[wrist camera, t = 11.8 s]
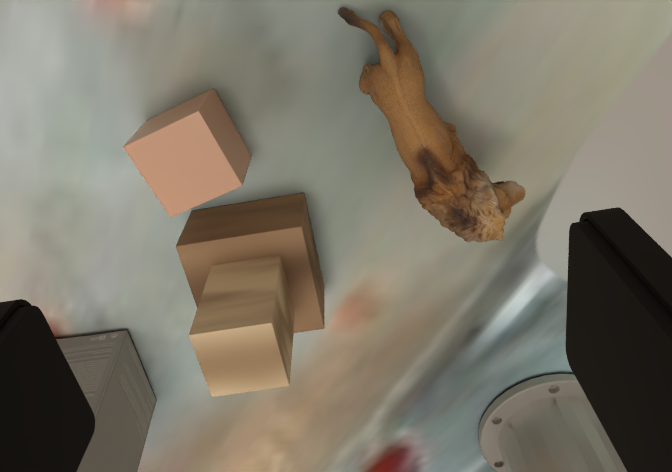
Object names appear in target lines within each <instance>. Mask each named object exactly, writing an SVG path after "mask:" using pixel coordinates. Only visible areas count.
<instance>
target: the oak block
mask: <svg viewBox="0 0 672 472" xmlns="http://www.w3.org/2000/svg"><path fill="white" fill-rule="evenodd" d="M294 318H295V310H294V306H293V302H292V298H291V294H290V290H289V286H288V282H287V278H286V275H285V271H284V267H283V263H282V259H281V255H276V256H270V257H264V258H257V259H251V260H245V261H238V262H232V263H226V264H219V265H213V266H211V269H210V272H209V275H208V278H207V281H206V284H205V287H204V290H203V293H202V296H201V299H200V302H199V306H198V309H197V312H196V315H195V318H194V321H193V324H192V327H191V330H190V333H189V337H190V340H191V342H192V345H193V348H194V350H195V353H196V356H197V358H198V361H199V364H200V366H201V369H202V372H203V374H204V377H205V380H206V382H207V385H208V388H209V390H210V393H211V396H212V397H214V396H221V395H228V394H235V393H242V392H249V391H256V390H264V389H271V388H278V387H285V386H289V384H290V371H291V358H292V344H293V331H294Z"/></svg>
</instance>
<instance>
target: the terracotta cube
mask: <svg viewBox="0 0 672 472" xmlns="http://www.w3.org/2000/svg"><path fill="white" fill-rule="evenodd" d="M123 148H124V149H125V151H126V152H127V154H128V155H129V157H130V158H131V160H132V161H133V163H134V164H135V166H136V167H137V169H138V170H139V172H140V173H141V174H142V176H143V177H144V179H145V180H146V182H147V183H148V185H149V186H150V188H151V189H152V191H153V192H154V194H155V195H156V197H157V198H158V200H159V201H160V203H161V204H162V206H163V207H164V209H165V210H166V212H167V213H168V215H169V216H170V218H171V217H173V216H175V215H177V214H180V213H182V212H184V211H186V210H189V209H191V208H193V207H195V206H198V205H200V204H202V203H204V202H207V201H209V200H211V199H214V198H216V197H218V196H220V195H223V194H225V193H227V192H229V191H232V190H234V189H236V188H238V187H241V186H242V185H243V182H244V179H245V176H246V172H247V169H248V166H249V163H250V160H251V154H250V152H249V150H248V149H247V147H246V145H245V143H244V142H243V140H242V138H241V136H240V134H239V133H238V131H237V129H236V127H235V126H234V124H233V122H232V120H231V118H230V117H229V115H228V113H227V111H226V110H225V108H224V106H223V104H222V102H221V101H220V99H219V97H218V95H217V94H216V92H215V90H214V88H213V89H211V90H209V91H207V92H205V93H202V94H200V95H198V96H196V97H194V98H192V99H190V100H188V101H186V102H184V103H182V104H180V105H178V106H176V107H174V108H171V109H169V110H167V111H165V112H163V113H161V114H159V115H157V116H155V117H153V118H151V119H149V120H147V121H146V122H145V123H144V124H143V125H142V126H141V127H140V128H139V129H138V131H137V132H136V133H135V134H134V135H133V136H132V137H131V139H130V140H129V141H128V142H127V143H126V144H125V145H124V146H123Z"/></svg>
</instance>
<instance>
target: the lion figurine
mask: <svg viewBox="0 0 672 472" xmlns="http://www.w3.org/2000/svg"><path fill="white" fill-rule="evenodd" d="M338 14H339V15H340V16H341V17H342V18H343V19H344V20H345V21H346V22H347V23H348V24H350V25H352V26H356V27H359V28H361V29H363V30H365V31H367V32H368V33H369V34H370V35H371V37H372V38H373V40H374V41H375V44H376V47H377V49H378V52H379V56H380V58H379V60H380V62H379V63H377V64H375V65H373V66H371V65H370V64H366V65H365V66H364V68H363V74H362V75H361V77H360V83H359V86H360V90H361V91H362V92H363V93H365V94H370V95H371V98H372V100H373V102H374V103H375V104H376V105H377V106H378V107H379V108H380V110H381V111H382V112H383V113H384V115H385V116H386V117H387V119H388V121H389V124H390V127H391V131H392V134H393V137H394V140H395V143H396V147H397V150H398V152H399V154H400V156H401V158H402V160H403V161H404V163H405V165H406V166H407V168H408V169H409V170H410V172H411V179H412V181H413V183H414V185H415V187H414V191H415V196H416V198H417V199H418V201H419V202H420V204H421V205H422V208H424V209H426V210H428V212H429V213H430V214H431V215H433V216H434V217H435V218H436V219H438V220H439V221H440V223H441V225H442V226H443V227H445V228H448V229H449V230H450V231H452V232H455V234H456V235H457V236H459V237H462V238H463V239H464V240H465V241H466V242H471V241H476V242H483V241H489V240H494V239H496V240H498V241H502V240H503V235H502V234H503V233H504V229H503V227H504V225H505V220H506V218H508V217H509V215H510V213H511V207H512V206H513V205H515V204H517V203H518V202H520V201H521V200H523V198H524V197H525V189H524V188H523V187H522V186H519V185H518V184H517V183H516V182H514V181H506V182H503V181H502V182H496V183H491V181H490V180H489V177H488V176H487V174H486V173H485V172H484V171H481V170H479V169H478V167H477V165H476V163H475V161H474V160H473V159H472V157H470V156H469V155H468V154H466V153H465V151H464V149H463V147H462V145H461V144H460V142H459V140H458V138H457V137H456V127H455V126H453V125H451V124H446V123H443V121H442V120H441V118H440V117H439V116H438V114H437V113H436V112H435V110H434V109H433V107H432V106H431V105H430V104H429V102H428V101H427V100H426V99H425V97H424V75H423V71H422V67H421V65H420V61H419V56H418V54H417V52H416V51H415V49H414V48H413V46H412V45H411V43H410V42H409V40H408V39H407V37H406V36H405V34H404V33H403V31H402V29H401V27H400V25H399V19H398V17H397V16H396V15H395V13H393V12H392V11H386V12H384V13H382V14H381V15H380V16H379V23H380V26H381V28H382V30H383V31H384V32H386V33H388V34H389V35H390V36H391V38H392V39H393V41H394V45H395V54H394V52H393V51H392V49H391V48H390V46H389V44H388V42H387V41H386V39H385V37H384V35H383V34H382V33H381V31H380V30H379V29H378V27H377V26H375V25H374V24H373V23H371V22H369V21H366V20H364V19H361V18H359V17H357V16H356V15H355V13H354V12H353V11H350V10H348V9H347V8H340V9H339V10H338Z"/></svg>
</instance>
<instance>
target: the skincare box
mask: <svg viewBox="0 0 672 472" xmlns="http://www.w3.org/2000/svg"><path fill="white" fill-rule="evenodd" d="M56 340H57V342H58V344H59V346H60V348H61V350H62V352H63V354H64V356H65V358H66V360H67V362H68V364H69V366H70V368H71V370H72V372H73V374H74V376H75V377H76V379H77V381H78V383H79V385H80V387H81V389H82V391H83V393H84V395H85V397H86V399H87V401H88V403H89V405H90V407H91V409H92V411H93V413H94V416H95V430H94V434H93V436H92V438H91V441H90V443H89V445H88V447H87V449H86V452H85V454H84V456H83V458H82V461H81V463H80V465H79V467H78V470H77V472H137V470H138V467H139V463H140V459H141V456H142V452H143V448H144V445H145V441H146V437H147V433H148V429H149V426H150V422H151V418H152V415H153V411H154V408H155V404H156V398H155V396H154V393H153V391H152V389H151V386H150V384H149V382H148V379H147V377H146V375H145V372H144V370H143V367H142V365H141V362H140V360H139V357H138V355H137V353H136V350H135V348H134V346H133V343H132V341H131V339H130V336H129V334H128V332H127V331H117V332H110V333H103V334H97V335H90V336H81V337H73V338H64V339H56Z"/></svg>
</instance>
